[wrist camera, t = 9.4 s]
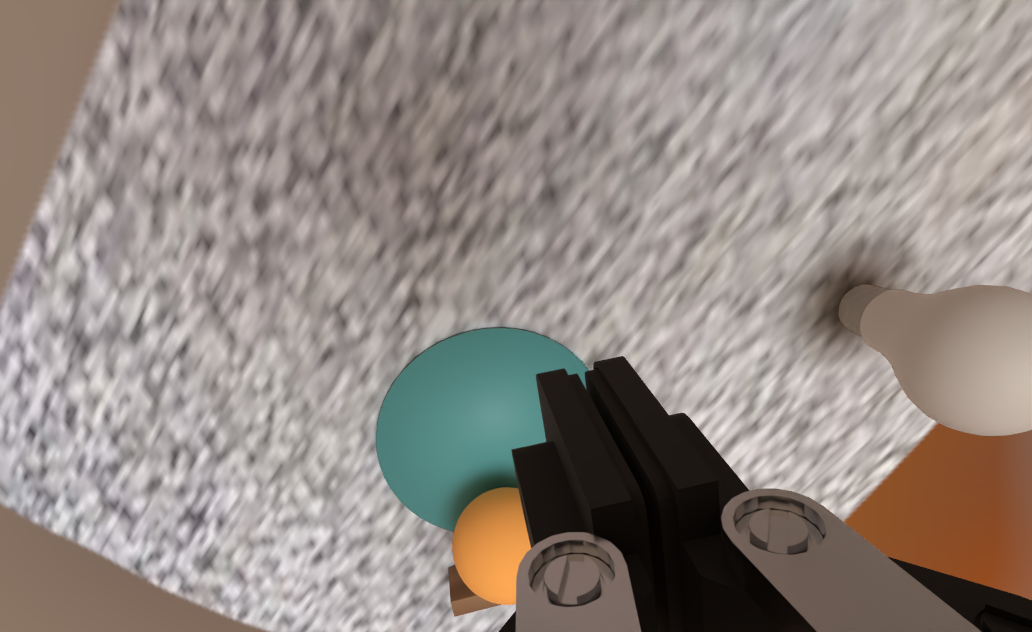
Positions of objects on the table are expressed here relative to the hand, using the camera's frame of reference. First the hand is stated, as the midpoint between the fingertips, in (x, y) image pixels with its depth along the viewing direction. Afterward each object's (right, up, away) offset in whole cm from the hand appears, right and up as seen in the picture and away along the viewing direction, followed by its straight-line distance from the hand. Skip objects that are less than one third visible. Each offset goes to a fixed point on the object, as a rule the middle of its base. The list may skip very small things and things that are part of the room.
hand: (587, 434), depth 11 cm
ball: (-2, -9, +19) cm, 21 cm away
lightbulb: (+16, +3, +21) cm, 27 cm away
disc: (-3, -4, +20) cm, 20 cm away
